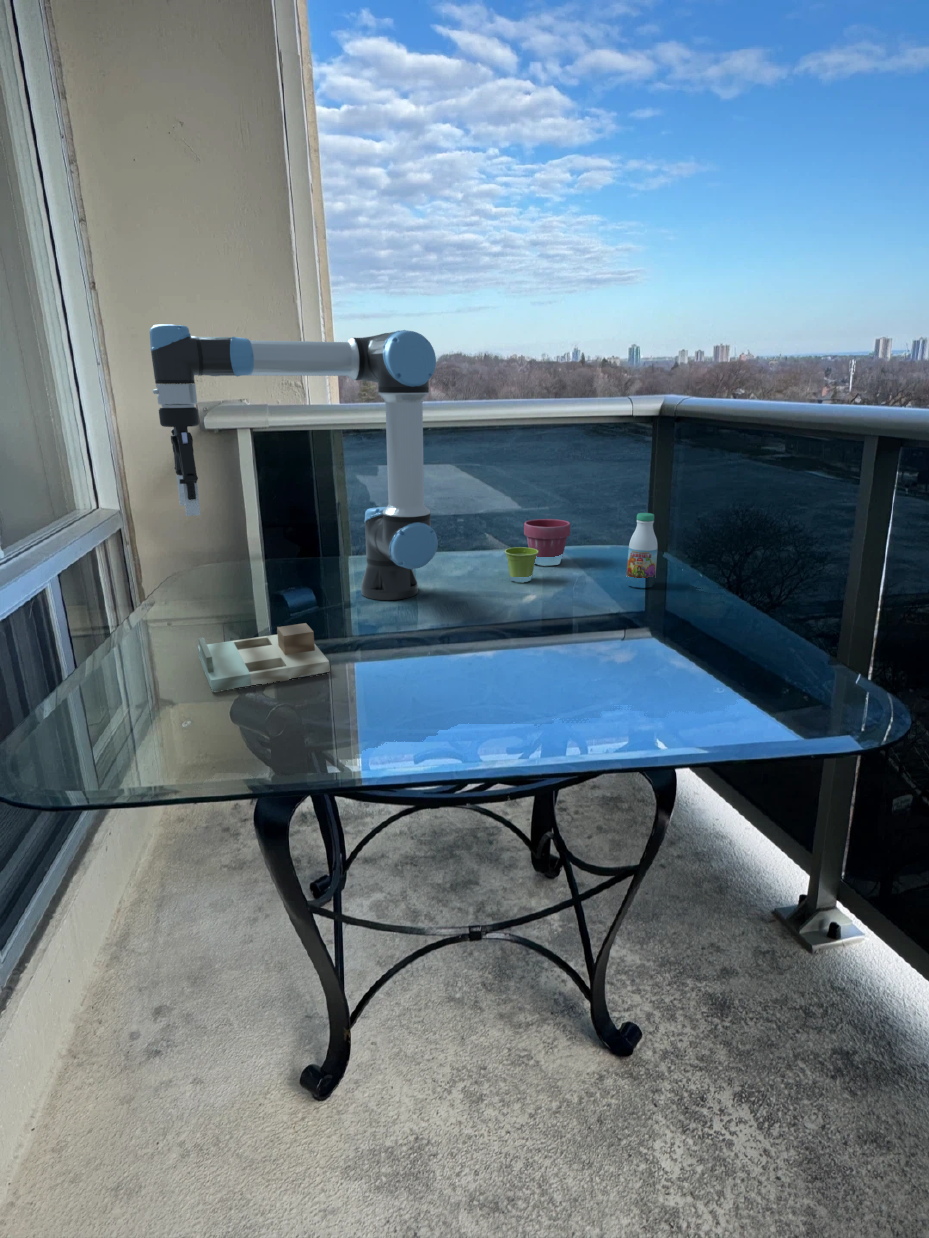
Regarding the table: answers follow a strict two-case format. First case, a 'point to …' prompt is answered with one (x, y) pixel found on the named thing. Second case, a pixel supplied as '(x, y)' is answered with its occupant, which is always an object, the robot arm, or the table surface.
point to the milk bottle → (642, 548)
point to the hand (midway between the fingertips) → (189, 510)
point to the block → (295, 638)
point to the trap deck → (255, 662)
